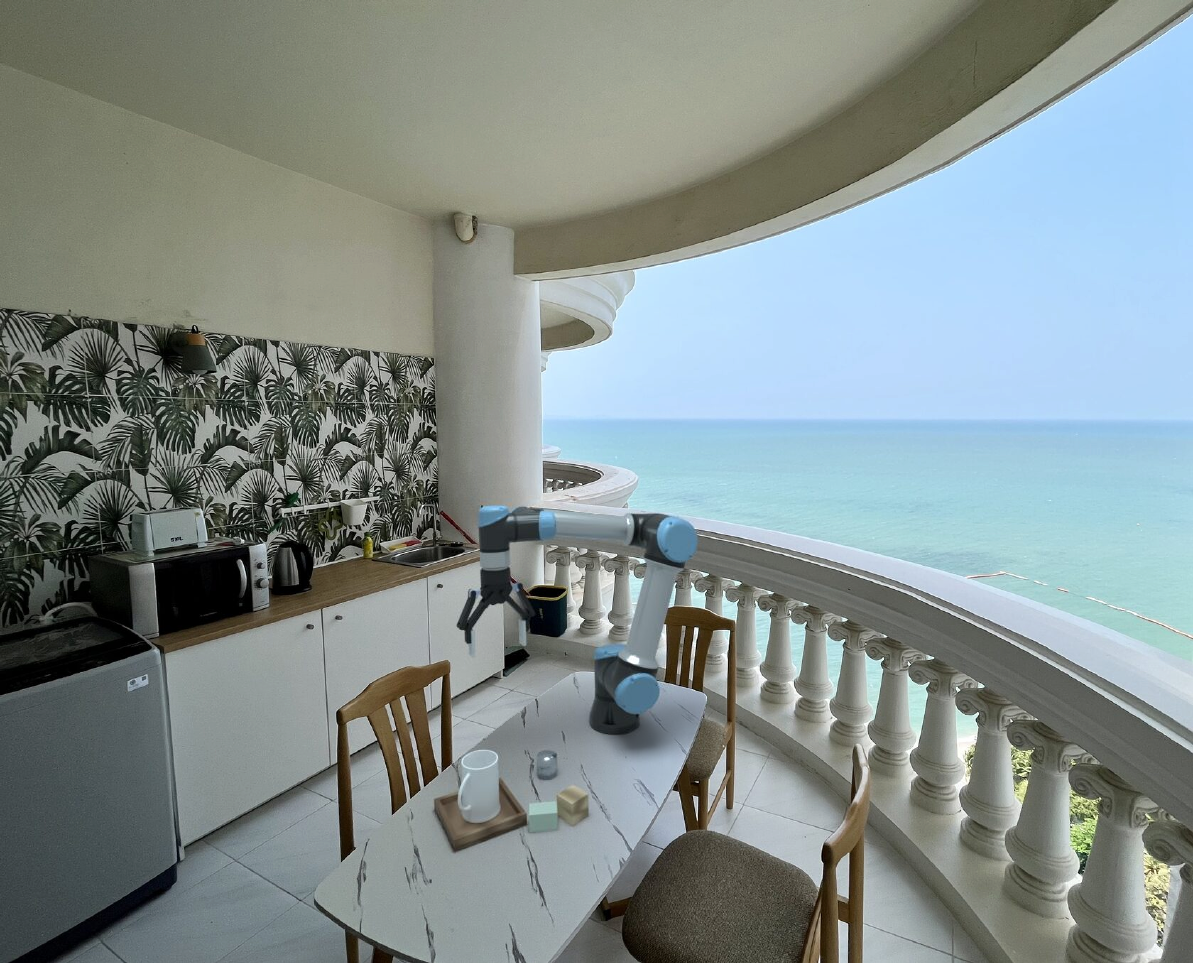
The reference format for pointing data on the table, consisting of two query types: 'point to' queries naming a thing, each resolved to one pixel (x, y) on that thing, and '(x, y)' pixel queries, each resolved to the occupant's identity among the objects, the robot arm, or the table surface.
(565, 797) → the oak block
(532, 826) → the sage block
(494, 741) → the table surface
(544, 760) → the grey tin
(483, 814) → the mug
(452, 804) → the tray
